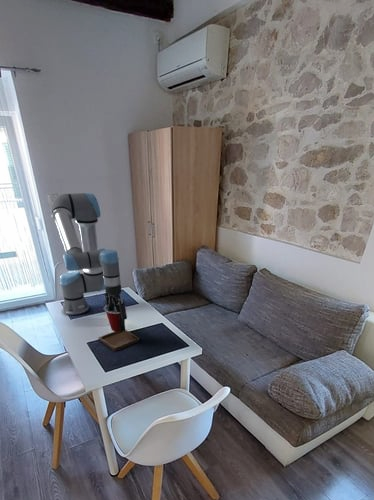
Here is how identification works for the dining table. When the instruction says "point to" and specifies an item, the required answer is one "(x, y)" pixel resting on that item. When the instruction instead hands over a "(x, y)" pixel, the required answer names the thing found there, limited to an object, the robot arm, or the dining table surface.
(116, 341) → the tray
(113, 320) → the plastic cup
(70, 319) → the dining table surface
